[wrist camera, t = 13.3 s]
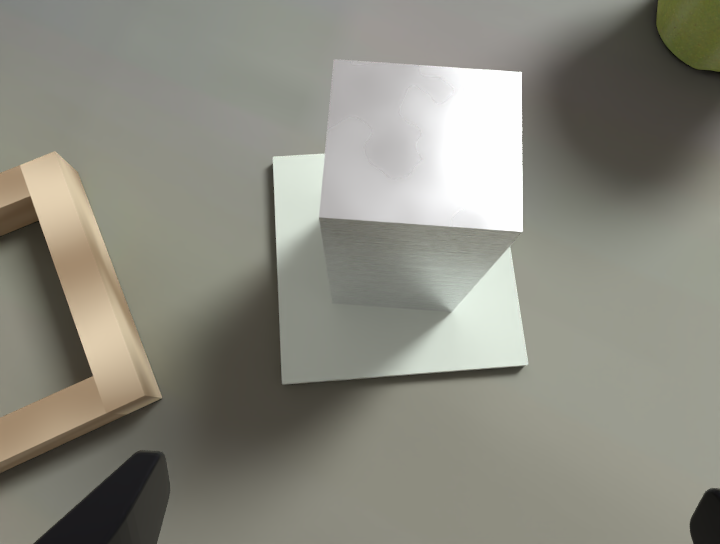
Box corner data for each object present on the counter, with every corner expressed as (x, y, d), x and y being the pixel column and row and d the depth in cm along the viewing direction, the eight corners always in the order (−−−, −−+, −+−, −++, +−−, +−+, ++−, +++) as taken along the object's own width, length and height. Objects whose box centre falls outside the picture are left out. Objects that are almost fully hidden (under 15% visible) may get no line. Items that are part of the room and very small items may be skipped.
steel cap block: (452, 311, 23) (522, 231, 14) (332, 303, 23) (318, 217, 14) (454, 211, 25) (521, 72, 15) (340, 202, 25) (333, 59, 15)
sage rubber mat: (524, 365, 23) (528, 364, 23) (283, 384, 23) (281, 383, 23) (491, 148, 26) (494, 142, 26) (274, 161, 26) (272, 156, 25)
